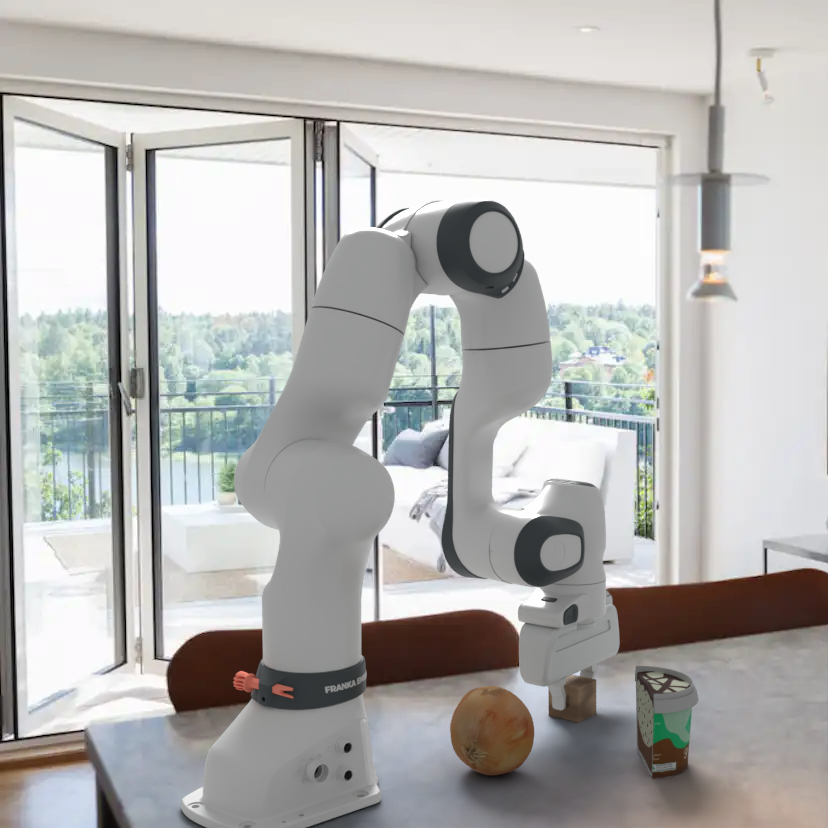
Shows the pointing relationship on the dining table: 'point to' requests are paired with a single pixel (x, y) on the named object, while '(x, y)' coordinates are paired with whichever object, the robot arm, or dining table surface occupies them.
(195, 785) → the dining table surface
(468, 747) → the onion
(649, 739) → the food container
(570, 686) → the walnut block
